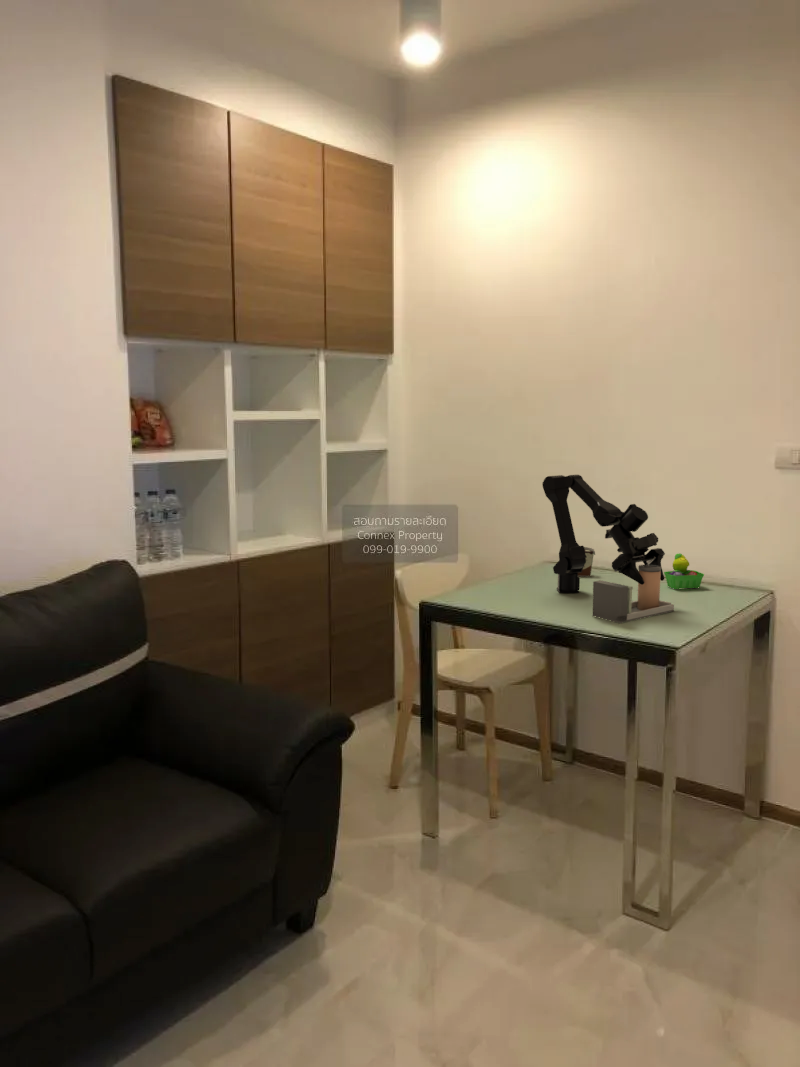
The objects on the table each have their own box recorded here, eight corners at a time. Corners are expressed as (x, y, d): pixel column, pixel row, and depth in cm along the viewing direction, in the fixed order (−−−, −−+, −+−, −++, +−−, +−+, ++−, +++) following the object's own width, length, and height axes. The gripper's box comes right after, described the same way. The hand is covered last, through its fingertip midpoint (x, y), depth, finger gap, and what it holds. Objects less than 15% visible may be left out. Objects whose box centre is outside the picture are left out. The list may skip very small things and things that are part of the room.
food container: (592, 573, 321) (593, 546, 319) (594, 576, 315) (595, 549, 313) (558, 572, 322) (559, 546, 320) (560, 576, 316) (560, 549, 314)
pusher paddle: (628, 616, 253) (629, 587, 251) (608, 611, 259) (609, 583, 258) (631, 616, 254) (632, 586, 252) (611, 611, 260) (612, 582, 258)
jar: (634, 609, 263) (636, 567, 261) (640, 605, 268) (641, 563, 266) (656, 612, 259) (658, 569, 257) (661, 607, 265) (663, 565, 263)
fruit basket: (672, 590, 291) (674, 557, 289) (660, 585, 299) (662, 553, 298) (704, 589, 292) (706, 556, 291) (691, 583, 301) (693, 551, 299)
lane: (619, 623, 249) (621, 587, 247) (592, 616, 257) (593, 581, 256) (673, 611, 262) (675, 577, 261) (646, 604, 271) (647, 571, 269)
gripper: (620, 527, 258) (649, 569, 250) (661, 522, 268) (689, 562, 261) (599, 550, 265) (626, 591, 258) (639, 544, 276) (667, 583, 269)
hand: (653, 581), depth 261 cm, fingers open, 9 cm apart
